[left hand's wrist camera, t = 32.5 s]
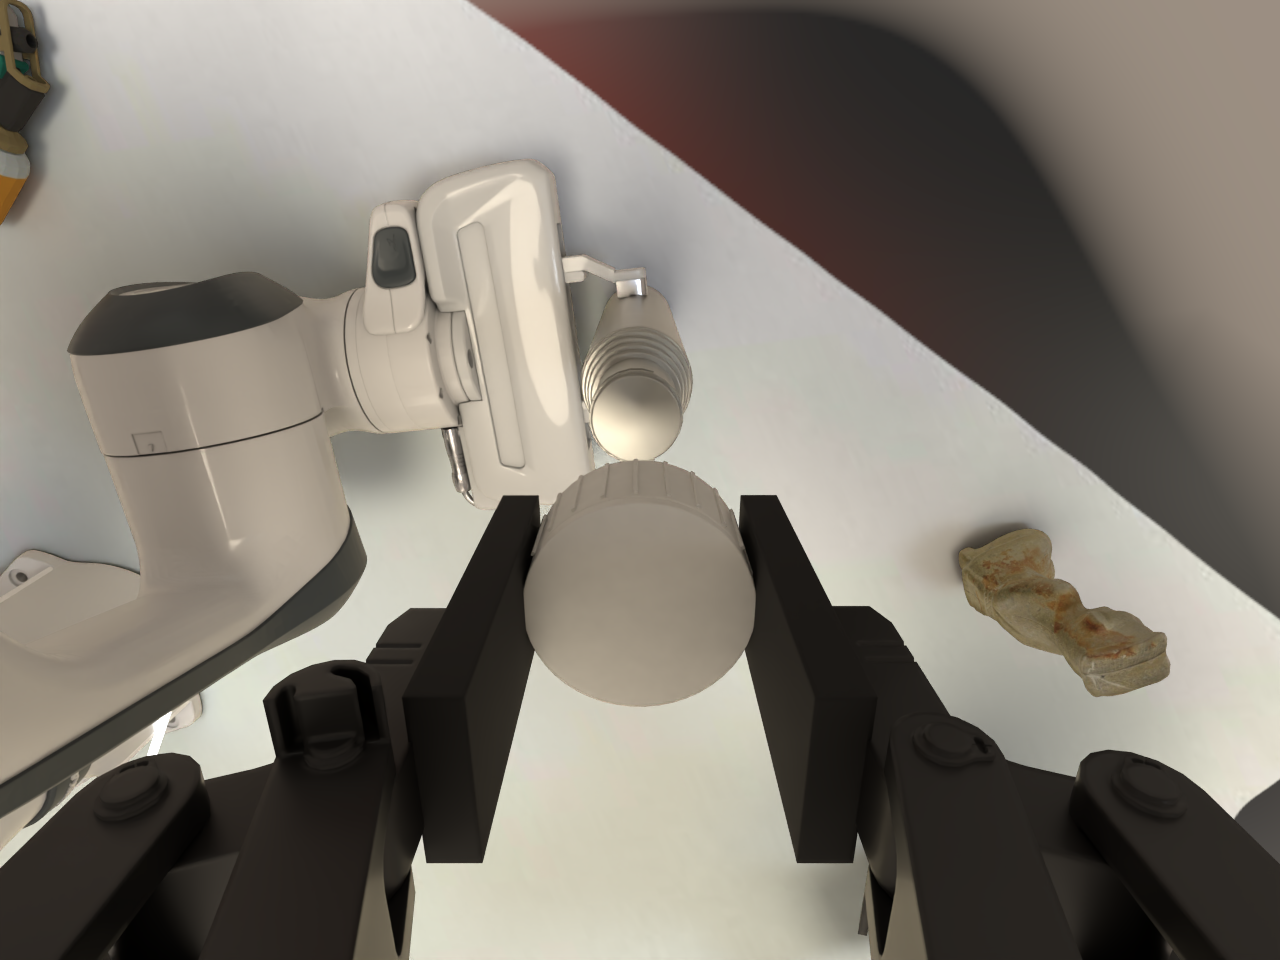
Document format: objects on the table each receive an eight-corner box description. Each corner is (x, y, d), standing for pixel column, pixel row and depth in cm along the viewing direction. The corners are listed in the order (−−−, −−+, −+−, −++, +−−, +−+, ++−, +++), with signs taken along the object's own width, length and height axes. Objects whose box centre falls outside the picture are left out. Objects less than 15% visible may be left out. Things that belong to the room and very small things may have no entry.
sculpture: (1043, 576, 54) (1183, 700, 40) (952, 599, 55) (1059, 728, 41) (1037, 512, 52) (1183, 619, 38) (943, 536, 53) (1052, 650, 39)
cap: (772, 596, 15) (795, 659, 13) (594, 668, 16) (586, 740, 14) (692, 422, 14) (702, 459, 11) (499, 509, 14) (474, 560, 12)
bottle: (594, 294, 47) (549, 372, 23) (661, 275, 46) (686, 334, 22) (614, 361, 48) (590, 498, 25) (678, 343, 48) (718, 465, 24)
